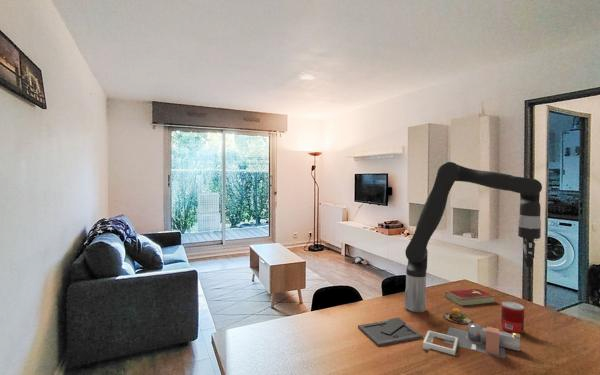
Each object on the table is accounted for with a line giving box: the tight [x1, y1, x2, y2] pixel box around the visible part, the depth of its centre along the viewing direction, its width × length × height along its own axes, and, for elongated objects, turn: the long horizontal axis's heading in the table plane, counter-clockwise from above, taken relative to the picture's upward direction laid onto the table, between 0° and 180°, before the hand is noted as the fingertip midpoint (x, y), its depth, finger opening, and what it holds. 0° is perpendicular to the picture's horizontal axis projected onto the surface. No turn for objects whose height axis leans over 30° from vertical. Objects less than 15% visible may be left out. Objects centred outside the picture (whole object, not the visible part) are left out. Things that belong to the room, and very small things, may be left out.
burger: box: [442, 307, 473, 325], centre depth 143 cm, size 12×12×8 cm
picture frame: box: [357, 317, 424, 347], centre depth 132 cm, size 16×2×21 cm
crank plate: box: [444, 326, 506, 359], centre depth 123 cm, size 20×15×1 cm
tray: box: [422, 330, 458, 356], centre depth 121 cm, size 11×11×3 cm
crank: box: [467, 322, 521, 352], centre depth 121 cm, size 17×5×6 cm, turn 58°
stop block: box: [486, 326, 500, 355], centre depth 116 cm, size 4×4×8 cm
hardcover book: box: [444, 287, 496, 306], centre depth 168 cm, size 12×21×4 cm, turn 103°
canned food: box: [500, 301, 525, 335], centre depth 134 cm, size 8×8×11 cm
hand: (528, 264), depth 131 cm, fingers open, 8 cm apart
